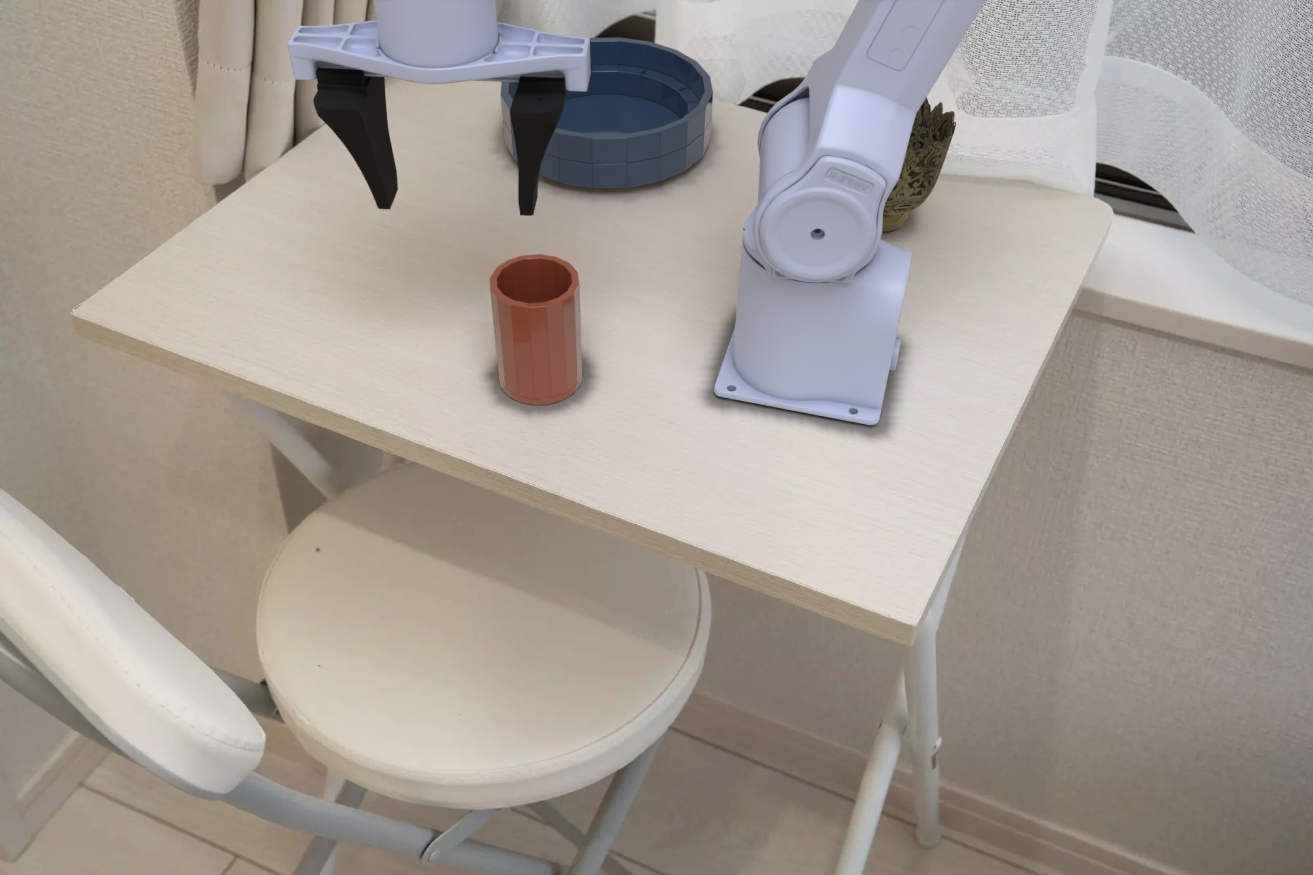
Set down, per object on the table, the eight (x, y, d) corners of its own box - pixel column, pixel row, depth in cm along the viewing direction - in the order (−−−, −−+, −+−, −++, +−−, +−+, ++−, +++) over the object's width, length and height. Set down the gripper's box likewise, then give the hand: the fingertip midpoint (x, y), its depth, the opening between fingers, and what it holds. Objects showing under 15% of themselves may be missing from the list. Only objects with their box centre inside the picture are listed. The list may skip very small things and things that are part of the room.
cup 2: (913, 264, 78) (936, 156, 72) (809, 233, 80) (823, 126, 74) (947, 208, 82) (970, 103, 77) (848, 181, 85) (863, 77, 79)
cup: (592, 359, 70) (589, 262, 65) (567, 412, 67) (562, 313, 62) (515, 345, 71) (507, 248, 66) (487, 396, 67) (476, 298, 63)
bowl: (728, 107, 92) (732, 52, 89) (681, 210, 82) (683, 152, 78) (543, 80, 95) (541, 26, 92) (475, 176, 84) (469, 119, 81)
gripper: (593, -78, 57) (598, 169, 66) (297, -89, 57) (343, 158, 67) (579, -18, 52) (586, 240, 61) (253, -31, 52) (310, 228, 62)
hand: (458, 202), depth 64 cm, fingers open, 7 cm apart
